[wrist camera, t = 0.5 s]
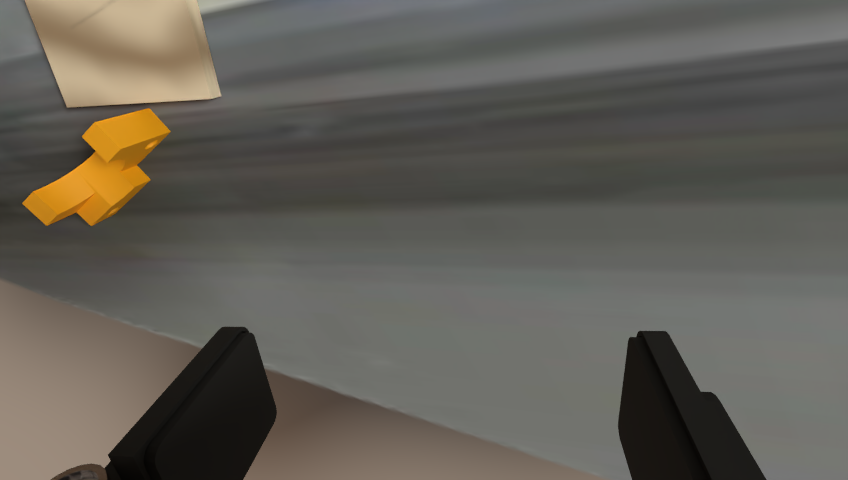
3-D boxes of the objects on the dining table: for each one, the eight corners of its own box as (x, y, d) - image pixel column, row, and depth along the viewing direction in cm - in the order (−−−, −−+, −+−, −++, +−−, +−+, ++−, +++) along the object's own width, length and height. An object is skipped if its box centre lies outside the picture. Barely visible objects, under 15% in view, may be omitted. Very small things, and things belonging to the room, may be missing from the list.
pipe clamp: (116, 213, 47) (62, 240, 41) (82, 180, 45) (22, 203, 40) (186, 146, 42) (137, 166, 37) (150, 107, 41) (94, 122, 35)
